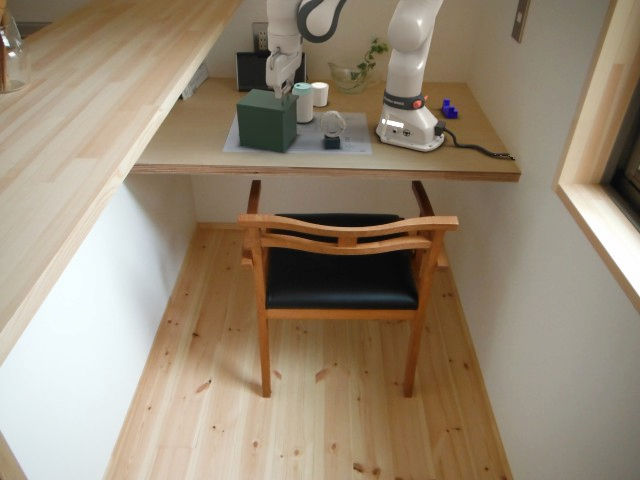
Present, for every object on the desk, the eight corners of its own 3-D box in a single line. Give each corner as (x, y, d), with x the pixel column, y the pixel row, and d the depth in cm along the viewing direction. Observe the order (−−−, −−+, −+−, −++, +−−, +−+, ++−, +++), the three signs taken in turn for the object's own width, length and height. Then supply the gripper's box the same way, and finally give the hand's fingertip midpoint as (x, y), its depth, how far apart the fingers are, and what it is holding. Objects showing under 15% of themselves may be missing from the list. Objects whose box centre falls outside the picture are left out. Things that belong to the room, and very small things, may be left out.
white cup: (331, 102, 173) (332, 84, 169) (321, 108, 168) (322, 89, 164) (316, 98, 176) (316, 80, 171) (306, 104, 171) (306, 85, 167)
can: (294, 124, 157) (293, 90, 150) (291, 116, 163) (290, 82, 155) (314, 123, 159) (315, 88, 151) (310, 114, 164) (311, 81, 156)
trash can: (296, 135, 151) (296, 97, 143) (283, 152, 142) (282, 113, 134) (255, 128, 154) (253, 91, 146) (240, 145, 145) (236, 106, 137)
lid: (299, 97, 143) (298, 81, 140) (285, 113, 133) (284, 96, 130) (253, 91, 146) (251, 75, 143) (236, 106, 137) (234, 89, 133)
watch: (345, 148, 145) (347, 115, 138) (320, 149, 144) (321, 115, 137) (343, 140, 149) (345, 107, 142) (318, 141, 148) (319, 108, 141)
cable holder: (456, 118, 165) (459, 107, 162) (447, 118, 164) (449, 107, 162) (450, 109, 171) (453, 98, 168) (441, 109, 171) (443, 98, 168)
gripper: (281, 55, 119) (282, 106, 128) (305, 34, 134) (305, 81, 143) (258, 52, 120) (261, 103, 129) (285, 32, 136) (286, 78, 144)
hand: (284, 91), depth 136 cm, fingers open, 8 cm apart
